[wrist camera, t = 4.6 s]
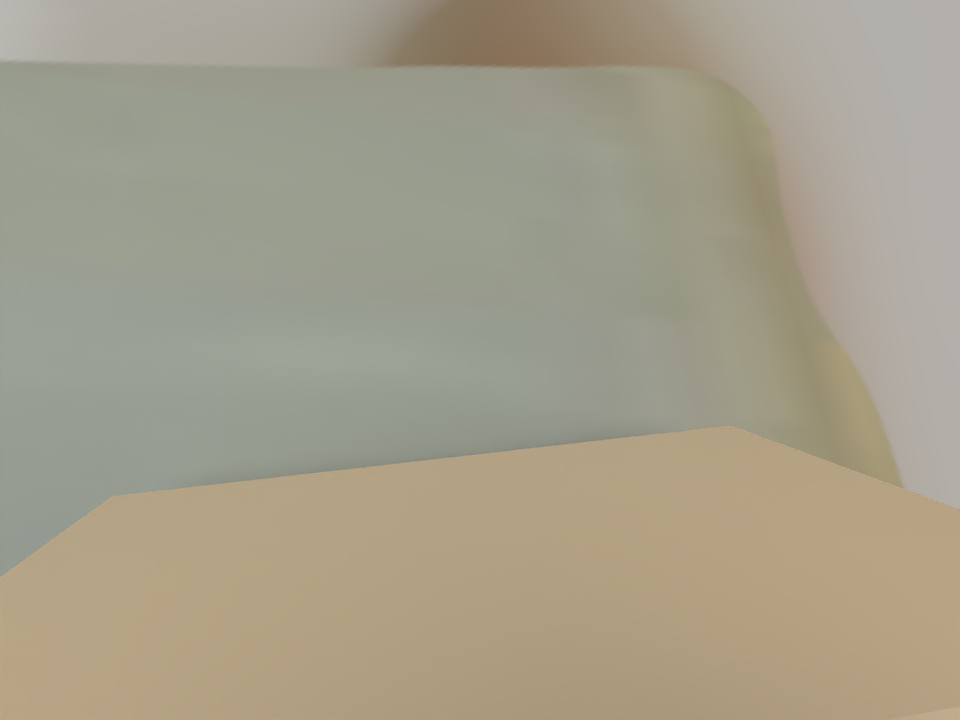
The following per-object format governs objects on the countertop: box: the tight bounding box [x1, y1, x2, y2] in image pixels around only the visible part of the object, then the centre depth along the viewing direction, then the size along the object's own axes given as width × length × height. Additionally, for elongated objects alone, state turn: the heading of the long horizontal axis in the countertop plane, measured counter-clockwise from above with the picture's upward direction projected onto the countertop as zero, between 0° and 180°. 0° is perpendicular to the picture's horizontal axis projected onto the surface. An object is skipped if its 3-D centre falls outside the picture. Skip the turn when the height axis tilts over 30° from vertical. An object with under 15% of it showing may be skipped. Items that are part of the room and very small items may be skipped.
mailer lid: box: [0, 426, 960, 720], centre depth 10 cm, size 10×15×1 cm
